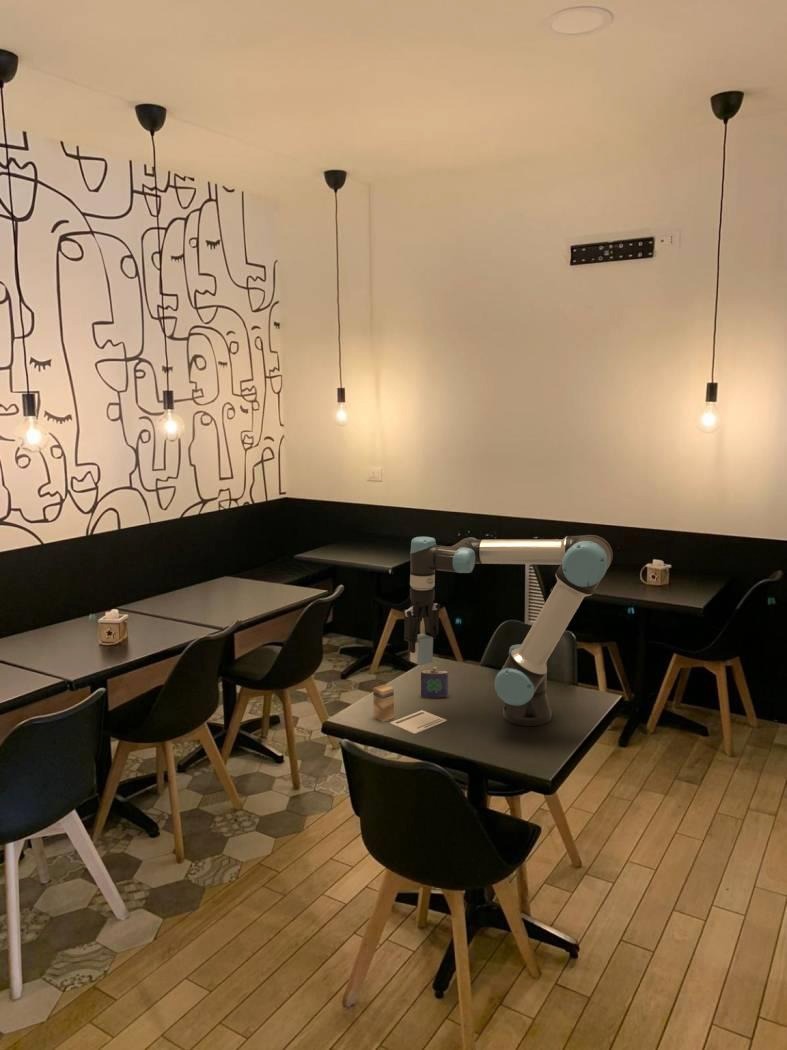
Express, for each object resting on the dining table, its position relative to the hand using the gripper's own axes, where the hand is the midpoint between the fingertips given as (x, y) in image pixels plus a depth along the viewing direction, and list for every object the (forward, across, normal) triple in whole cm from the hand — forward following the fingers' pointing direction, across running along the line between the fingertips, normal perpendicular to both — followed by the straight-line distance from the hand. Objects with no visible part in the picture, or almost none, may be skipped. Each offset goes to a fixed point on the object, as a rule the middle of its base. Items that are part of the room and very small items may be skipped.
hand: (421, 659), depth 246 cm
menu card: (+19, -2, -2) cm, 20 cm away
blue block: (+1, 0, 0) cm, 1 cm away
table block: (+20, -8, +8) cm, 23 cm away
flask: (+20, +16, +10) cm, 27 cm away
